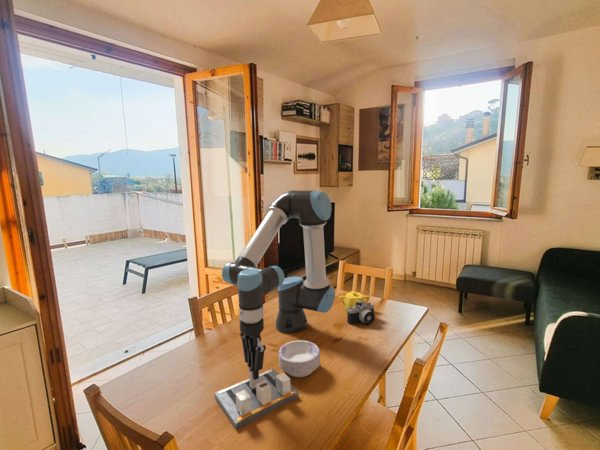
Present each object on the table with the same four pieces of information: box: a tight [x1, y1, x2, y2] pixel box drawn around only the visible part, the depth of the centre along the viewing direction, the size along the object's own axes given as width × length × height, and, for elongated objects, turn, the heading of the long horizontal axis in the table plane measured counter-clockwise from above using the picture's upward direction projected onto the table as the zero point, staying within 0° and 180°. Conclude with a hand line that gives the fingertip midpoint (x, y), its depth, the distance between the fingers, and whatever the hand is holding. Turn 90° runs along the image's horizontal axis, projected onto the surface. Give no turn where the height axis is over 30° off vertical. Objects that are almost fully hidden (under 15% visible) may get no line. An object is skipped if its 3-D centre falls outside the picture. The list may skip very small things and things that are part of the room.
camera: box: [346, 300, 376, 326], centre depth 154 cm, size 16×9×10 cm, turn 116°
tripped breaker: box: [256, 380, 271, 405], centre depth 99 cm, size 4×3×5 cm
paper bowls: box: [278, 339, 321, 378], centre depth 118 cm, size 15×15×8 cm
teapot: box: [339, 290, 370, 314], centre depth 167 cm, size 14×13×10 cm
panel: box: [214, 368, 300, 430], centre depth 103 cm, size 16×22×7 cm
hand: (254, 385), depth 105 cm, fingers closed
